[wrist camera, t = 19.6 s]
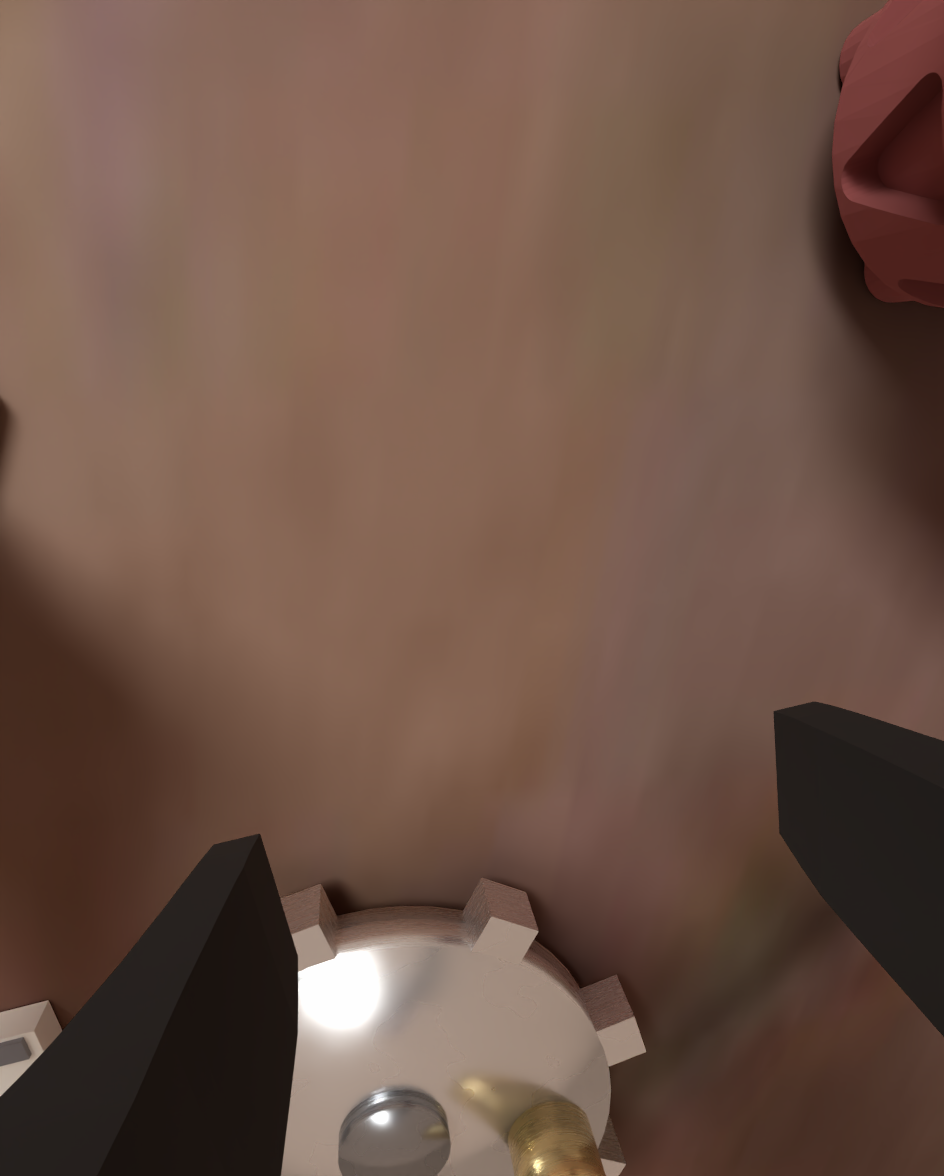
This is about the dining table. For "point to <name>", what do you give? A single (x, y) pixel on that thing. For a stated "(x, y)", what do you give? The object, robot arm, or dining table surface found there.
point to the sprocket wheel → (448, 1045)
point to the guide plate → (24, 1039)
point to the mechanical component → (894, 149)
